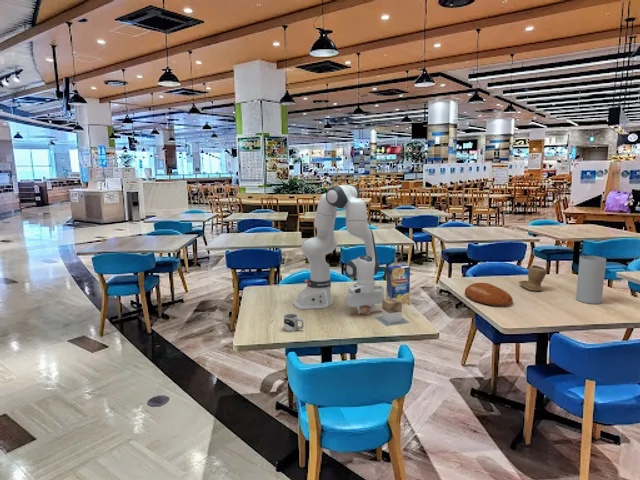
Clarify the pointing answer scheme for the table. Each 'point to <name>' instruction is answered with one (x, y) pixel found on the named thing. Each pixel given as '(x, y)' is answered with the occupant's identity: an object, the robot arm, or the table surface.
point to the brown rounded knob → (365, 310)
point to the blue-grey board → (391, 323)
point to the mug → (292, 322)
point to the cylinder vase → (590, 279)
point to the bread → (488, 294)
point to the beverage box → (398, 283)
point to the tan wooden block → (392, 305)
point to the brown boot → (534, 278)
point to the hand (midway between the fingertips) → (365, 312)
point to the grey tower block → (391, 316)
